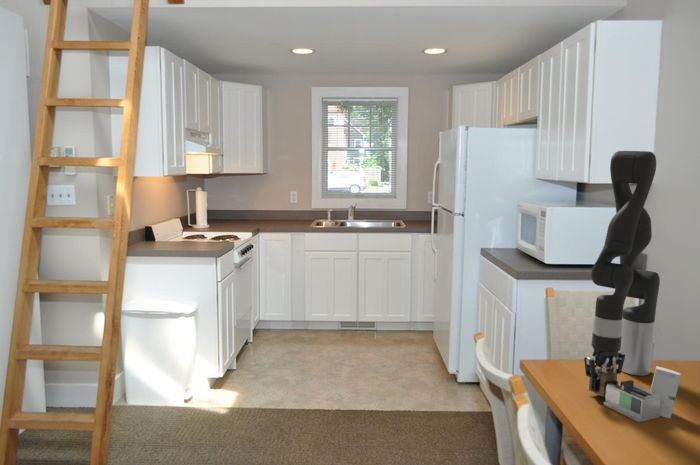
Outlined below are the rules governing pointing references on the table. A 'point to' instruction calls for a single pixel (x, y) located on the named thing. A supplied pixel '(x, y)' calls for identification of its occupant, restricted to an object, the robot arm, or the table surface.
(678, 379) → the skincare box
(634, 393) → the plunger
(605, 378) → the walnut block
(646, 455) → the table surface
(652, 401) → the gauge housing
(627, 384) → the dark gray block
